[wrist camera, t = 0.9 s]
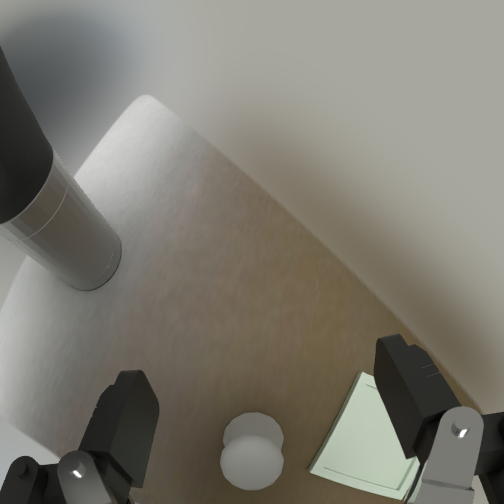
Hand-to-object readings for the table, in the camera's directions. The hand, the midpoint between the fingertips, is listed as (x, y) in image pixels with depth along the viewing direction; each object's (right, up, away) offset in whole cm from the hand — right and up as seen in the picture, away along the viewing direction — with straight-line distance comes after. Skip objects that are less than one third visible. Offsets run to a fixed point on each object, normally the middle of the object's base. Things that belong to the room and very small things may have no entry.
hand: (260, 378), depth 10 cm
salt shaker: (0, -15, +19) cm, 24 cm away
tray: (+14, -16, +18) cm, 28 cm away
